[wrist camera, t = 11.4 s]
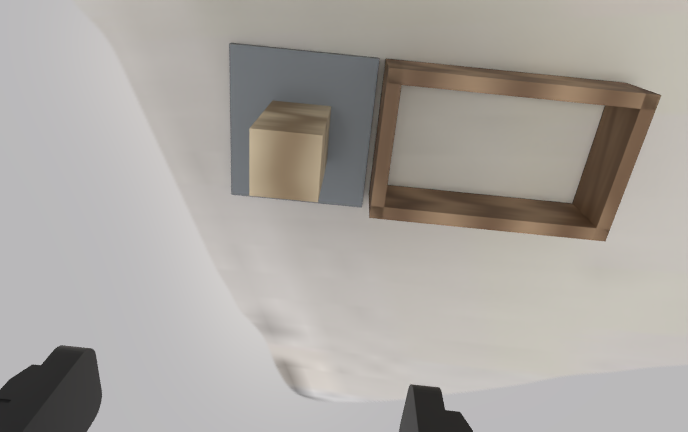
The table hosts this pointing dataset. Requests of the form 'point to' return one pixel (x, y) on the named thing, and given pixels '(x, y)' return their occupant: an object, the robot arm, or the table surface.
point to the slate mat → (308, 88)
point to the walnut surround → (505, 212)
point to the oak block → (289, 151)
